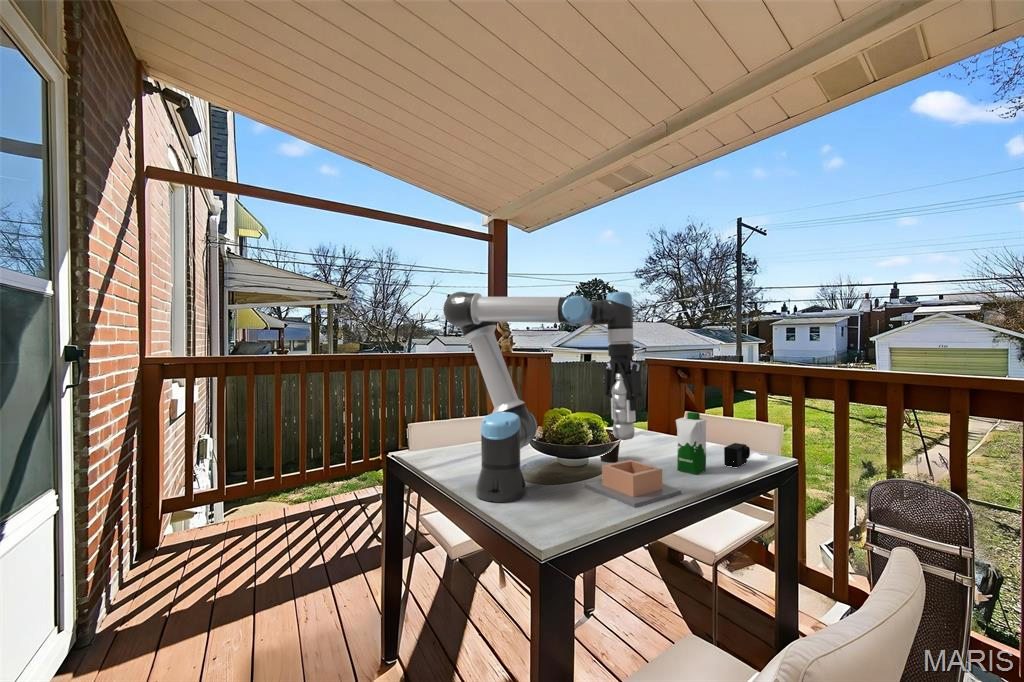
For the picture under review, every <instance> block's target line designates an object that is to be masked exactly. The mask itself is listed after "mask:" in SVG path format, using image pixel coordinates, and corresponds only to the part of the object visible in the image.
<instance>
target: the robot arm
mask: <svg viewBox="0 0 1024 682" xmlns="http://www.w3.org/2000/svg"><path fill="white" fill-rule="evenodd" d="M632 299H633V298H632V294H631V293H630V292H627V291H616V292H615V291H614V292H608V293H606V298H605V299H602V300H589V299H588V298H586V297H585V296H582V295H570V296H483V295H482V294H481V293H478V292H476V293H475V292H474V293H473V292H466V291H457V292H453V293H452V294H450V295H449V296H448V297H447V298H446V300H445V301H444V304H443V310H442V311H443V315H444V318H445V319H446V320H447V322H448V323H449V324H450V325H452V326H454V327H456V328H460V330H461V332H462V335H463V338H464V339H465V340H468V341H469V342H470V344H471V347H472V350H473V353H474V355H475V358H476V361H477V364H478V366H479V370H480V371H481V375H482V377H483V379H484V380H483V381H484V383H485V385H486V389H487V391H488V394H489V397H490V399H491V403H492V405H493V411H492V413H490V414H488V415H487V414H486V416H484V417H482V420H481V426H480V437H481V438H480V439H481V440H480V442H481V443H480V444H481V445H480V447H481V448H480V449H481V451H480V452H481V454H480V455H481V467H480V468H481V469H480V471H479V475H478V478H477V482H476V485H475V496H476V495H477V496H478V497H479V498H478V497H477V496H476V497H477V498H478V499H480V498H481V499H480V500H482V499H483V500H482V501H485V500H486V501H485V502H490V501H493V502H492V503H510V502H515V501H518V500H521V499H523V498H524V497H526V496H527V484H526V483H527V482H526V481H525V477H524V475H523V471H522V468H521V449H523V448H524V447H527V446H528V445H529V444H530V443H531V442H532V441H533V439H534V438H535V437H536V435H537V432H538V431H537V430H538V425H537V424H538V423H537V420H536V418H535V416H534V415H533V414H532V413H531V412H529V411H528V408H527V406H526V405H527V404H526V402H525V401H524V400H521V399H520V398H519V397H518V394H517V391H516V389H515V386H514V383H513V380H512V378H511V374H510V373H509V370H508V367H507V364H506V361H505V359H504V357H503V354H502V350H501V348H500V346H499V345H500V344H499V343H498V340H497V337H496V334H495V331H496V329H497V324H496V322H497V323H499V322H500V323H501V322H502V323H505V322H506V323H508V322H509V323H540V324H541V323H542V324H543V323H545V324H547V323H551V324H552V323H553V324H568V325H570V326H572V327H575V326H576V327H582V326H583V327H584V326H587V327H588V326H597V325H598V326H599V325H601V326H602V325H603V326H604V325H607V343H609V345H607V351H608V357H610V360H609V362H608V363H603V369H604V379H603V381H604V388H603V389H604V391H603V392H604V393H603V394H604V395H605V396H608V398H609V407H610V411H611V412H610V413H611V420H613V421H614V405H613V398H612V392H611V390H612V387H613V385H614V384H615V382H616V379H615V378H616V373H618V374H621V375H622V377H623V378H624V382H625V386H626V390H627V394H628V398H627V400H626V403H627V422H633V423H634V422H636V421H637V420H636V417H637V416H636V411H637V400H638V399H641V398H642V397H643V392H642V380H641V377H642V376H641V369H642V364H641V363H637V362H634V359H633V357H634V356H635V345H634V344H633V342H634V316H633V315H634V312H633V310H634V309H633V300H632ZM632 394H633V395H632ZM509 501H510V502H509Z"/></svg>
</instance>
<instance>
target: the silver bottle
mask: <svg viewBox="0 0 1024 682" xmlns="http://www.w3.org/2000/svg"><path fill="white" fill-rule="evenodd" d="M615 379H616V382H615V384H614V385H613V387H612V390H611V392H612V398H613V405H614V420H613V425H612V432H613V435H614V437H615V438H616V439H620V441H621V440H622V441H628V440H632V439H633V438H634V437H635V426H634V422H627V403H626V400H627V398H628V394H627V390H626V386H625V382H624V378H623V377H622V375H621V374H618V373H616V378H615ZM632 395H633V394H632Z"/></svg>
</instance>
